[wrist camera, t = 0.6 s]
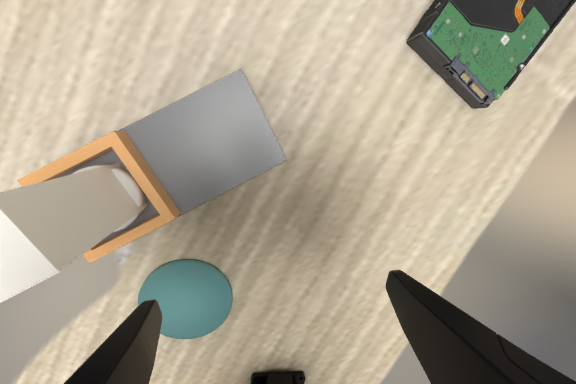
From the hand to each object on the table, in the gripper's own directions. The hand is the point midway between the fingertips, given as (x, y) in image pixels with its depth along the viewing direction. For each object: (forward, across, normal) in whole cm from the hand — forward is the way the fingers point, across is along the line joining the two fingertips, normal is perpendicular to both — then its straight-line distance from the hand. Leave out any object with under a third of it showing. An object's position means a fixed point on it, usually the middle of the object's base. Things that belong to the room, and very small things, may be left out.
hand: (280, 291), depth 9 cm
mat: (+12, +8, +14) cm, 20 cm away
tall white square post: (+13, +12, +2) cm, 18 cm away
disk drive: (+19, -22, -12) cm, 32 cm away
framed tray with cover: (+15, +8, 0) cm, 17 cm away
